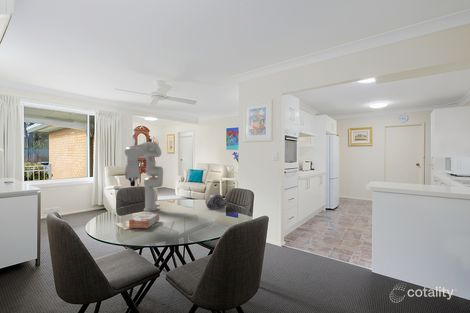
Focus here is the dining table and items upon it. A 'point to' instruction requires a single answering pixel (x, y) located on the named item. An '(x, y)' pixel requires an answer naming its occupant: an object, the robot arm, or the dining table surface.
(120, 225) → the board
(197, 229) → the dining table surface
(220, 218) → the dining table surface
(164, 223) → the dining table surface
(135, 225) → the cracker box
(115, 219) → the dining table surface
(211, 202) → the toy elephant
